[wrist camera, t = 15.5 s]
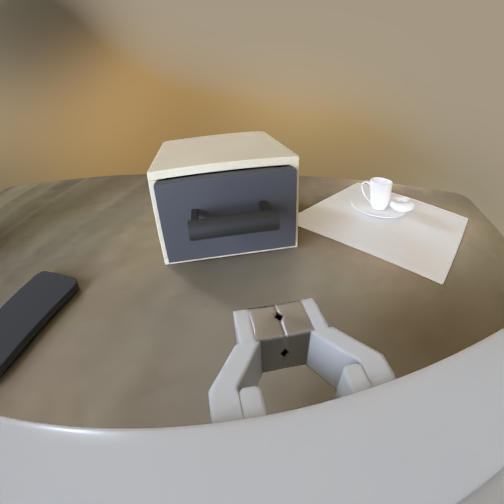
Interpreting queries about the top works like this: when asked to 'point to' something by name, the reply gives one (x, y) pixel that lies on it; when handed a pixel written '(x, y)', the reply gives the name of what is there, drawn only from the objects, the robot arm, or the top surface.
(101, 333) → the top surface
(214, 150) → the cabinet
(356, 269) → the top surface
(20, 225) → the top surface
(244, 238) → the drawer
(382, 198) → the teacup and saucer
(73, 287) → the phone
